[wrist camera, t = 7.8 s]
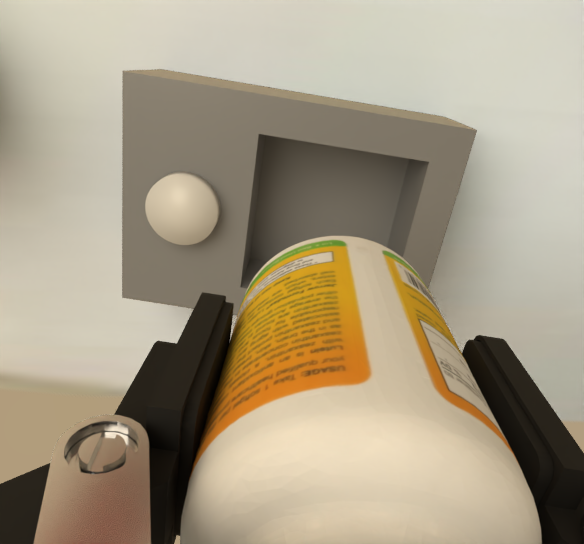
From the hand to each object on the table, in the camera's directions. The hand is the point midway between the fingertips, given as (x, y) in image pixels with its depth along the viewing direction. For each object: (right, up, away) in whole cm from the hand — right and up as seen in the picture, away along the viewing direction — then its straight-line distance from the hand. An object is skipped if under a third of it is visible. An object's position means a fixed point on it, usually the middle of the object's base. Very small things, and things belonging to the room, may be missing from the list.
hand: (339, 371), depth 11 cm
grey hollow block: (-1, +7, +14) cm, 15 cm away
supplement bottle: (0, +1, +2) cm, 3 cm away
